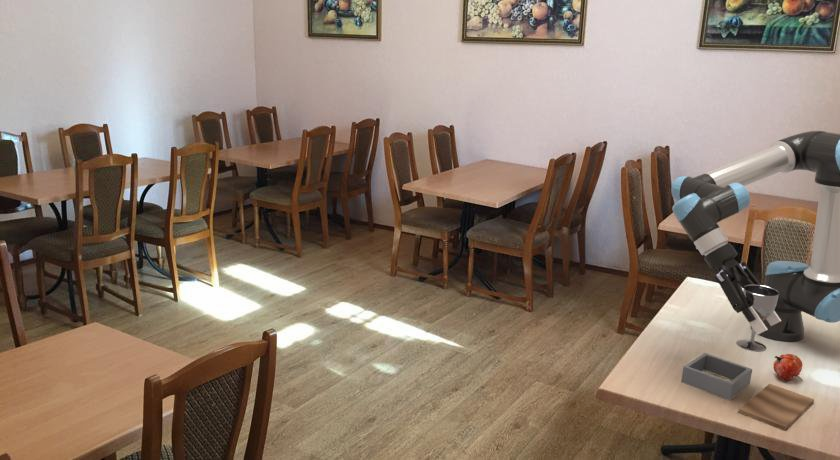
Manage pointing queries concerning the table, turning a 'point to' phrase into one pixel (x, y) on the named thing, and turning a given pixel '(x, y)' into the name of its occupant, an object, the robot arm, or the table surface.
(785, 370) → the pomegranate
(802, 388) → the table surface
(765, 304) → the wine glass
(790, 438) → the table surface
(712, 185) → the robot arm
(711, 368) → the square frame
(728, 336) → the table surface
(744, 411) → the board
